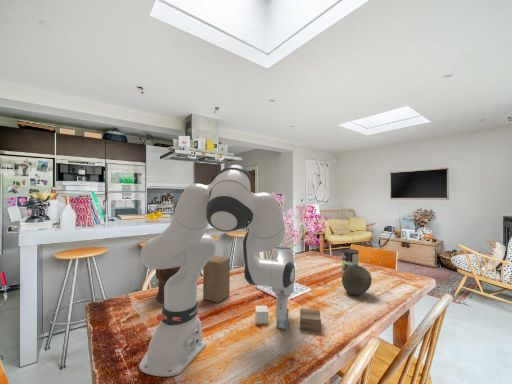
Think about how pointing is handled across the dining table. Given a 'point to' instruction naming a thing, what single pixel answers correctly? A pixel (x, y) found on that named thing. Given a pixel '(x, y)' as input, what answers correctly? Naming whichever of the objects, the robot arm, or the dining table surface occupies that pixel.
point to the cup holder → (164, 281)
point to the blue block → (284, 322)
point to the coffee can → (349, 258)
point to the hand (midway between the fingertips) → (282, 320)
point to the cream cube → (261, 314)
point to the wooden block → (216, 279)
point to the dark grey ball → (356, 280)
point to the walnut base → (310, 320)
